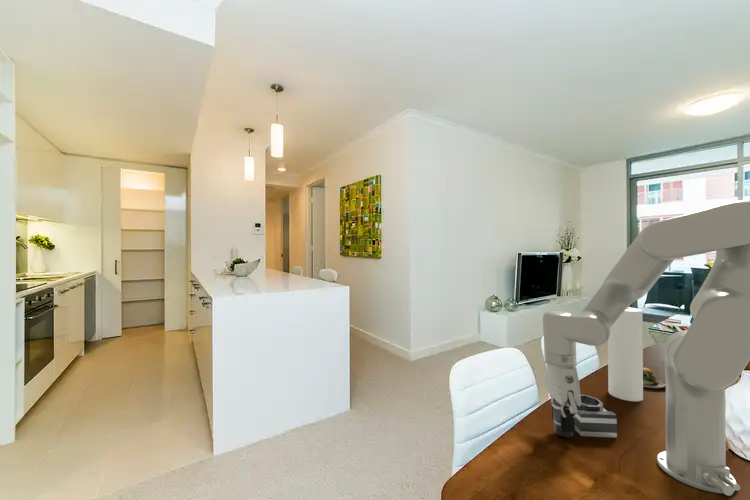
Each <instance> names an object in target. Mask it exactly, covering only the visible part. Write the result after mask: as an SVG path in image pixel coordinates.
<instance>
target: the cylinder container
mask: <svg viewBox="0 0 750 500" xmlns="http://www.w3.org/2000/svg"><path fill="white" fill-rule="evenodd" d="M643 326H644V324H643V309H641V308H636V307H631V306H629V307H628V308H627V309H626V310H625V311H624V312H623V313H622V314H621V315H620V317H619V318H618V319H617V320H616V322H615V323H614V324H613V326H612V327H611V328H610V338H609V340H608V341H607V354H608V355H607V373H608V374H607V378H608V380H607V381H608V382H607V384H608V385H607V386H608V388H607V389H608V394H609V395H611V396H612V397H614V398H617V399H619V400H623V401H628V402H641V401H644V386H643V368H644V361H643V360H644V353H643V352H644V348H643V346H644V345H643V343H644V341H643V339H644V337H643V335H644V334H643V331H644V330H643Z"/></svg>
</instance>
